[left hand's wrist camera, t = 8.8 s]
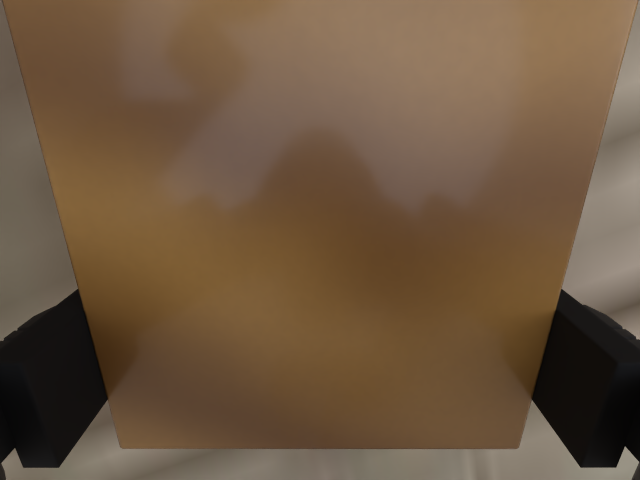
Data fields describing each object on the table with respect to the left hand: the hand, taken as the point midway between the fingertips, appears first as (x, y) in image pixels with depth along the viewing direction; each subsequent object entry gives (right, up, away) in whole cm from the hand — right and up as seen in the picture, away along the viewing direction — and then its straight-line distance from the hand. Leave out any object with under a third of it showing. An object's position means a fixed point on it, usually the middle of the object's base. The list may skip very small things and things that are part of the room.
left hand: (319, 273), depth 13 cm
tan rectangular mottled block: (0, +7, +4) cm, 8 cm away
